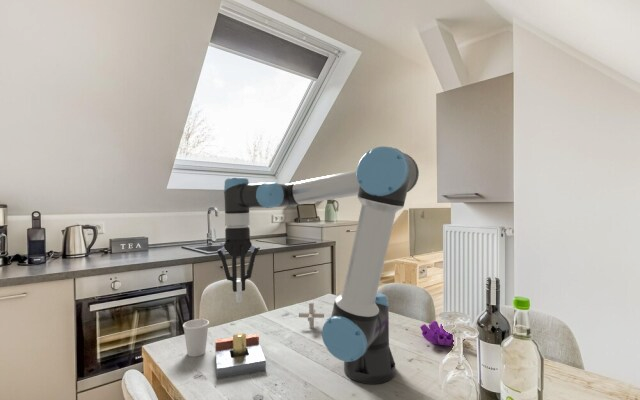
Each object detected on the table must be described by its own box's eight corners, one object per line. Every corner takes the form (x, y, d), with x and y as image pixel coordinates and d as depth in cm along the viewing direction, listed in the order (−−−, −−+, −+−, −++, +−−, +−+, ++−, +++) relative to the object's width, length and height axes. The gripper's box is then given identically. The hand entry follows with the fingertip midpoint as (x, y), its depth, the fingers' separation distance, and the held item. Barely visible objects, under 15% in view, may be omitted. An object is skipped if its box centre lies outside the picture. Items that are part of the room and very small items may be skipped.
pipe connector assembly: (443, 363, 109) (425, 339, 110) (430, 343, 124) (414, 323, 125) (470, 342, 109) (452, 319, 109) (454, 325, 124) (438, 304, 124)
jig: (265, 370, 100) (265, 353, 100) (217, 379, 95) (216, 361, 95) (257, 348, 115) (257, 333, 115) (215, 354, 110) (215, 339, 110)
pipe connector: (325, 323, 137) (324, 299, 137) (323, 333, 127) (322, 306, 127) (301, 322, 138) (300, 298, 138) (297, 332, 128) (296, 306, 128)
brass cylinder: (245, 357, 108) (245, 332, 108) (246, 362, 104) (246, 337, 104) (232, 359, 106) (232, 334, 106) (233, 364, 103) (233, 339, 103)
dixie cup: (197, 345, 118) (197, 317, 118) (214, 350, 114) (214, 321, 114) (177, 355, 111) (177, 325, 111) (195, 360, 107) (194, 329, 107)
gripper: (256, 225, 111) (258, 296, 111) (215, 227, 107) (217, 300, 106) (260, 226, 104) (261, 302, 104) (216, 228, 99) (218, 307, 99)
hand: (239, 301), depth 105 cm, fingers closed
